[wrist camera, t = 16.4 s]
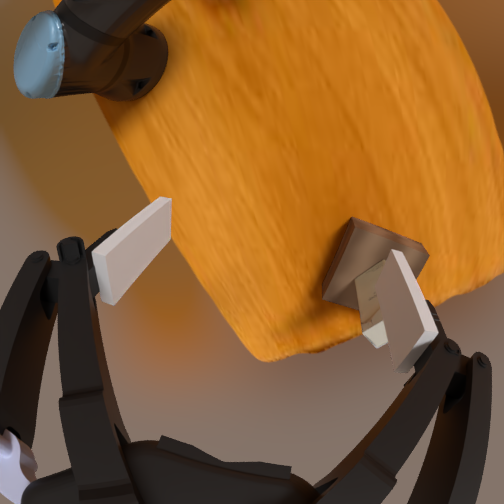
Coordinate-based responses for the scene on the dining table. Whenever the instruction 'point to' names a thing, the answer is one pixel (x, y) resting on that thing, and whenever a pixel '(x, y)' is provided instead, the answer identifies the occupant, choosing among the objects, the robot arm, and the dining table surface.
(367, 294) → the skincare box
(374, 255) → the plate
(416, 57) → the dining table surface
